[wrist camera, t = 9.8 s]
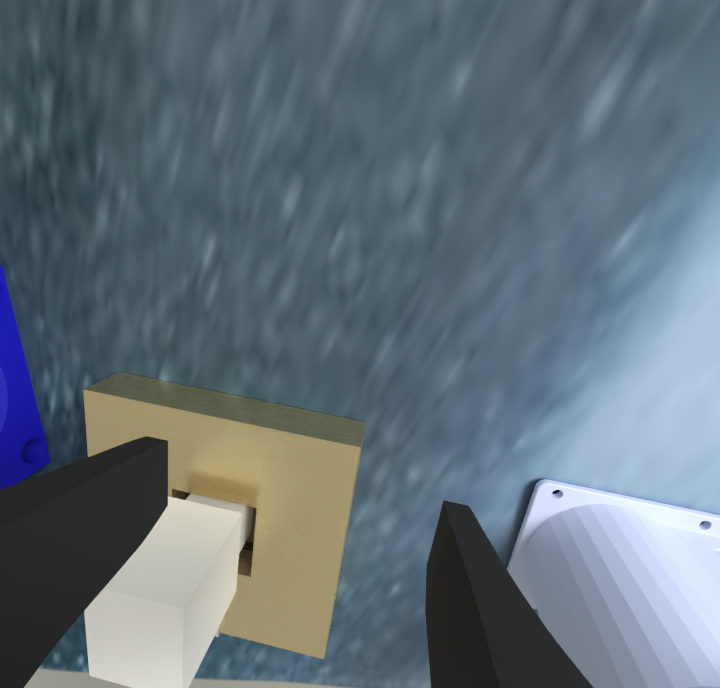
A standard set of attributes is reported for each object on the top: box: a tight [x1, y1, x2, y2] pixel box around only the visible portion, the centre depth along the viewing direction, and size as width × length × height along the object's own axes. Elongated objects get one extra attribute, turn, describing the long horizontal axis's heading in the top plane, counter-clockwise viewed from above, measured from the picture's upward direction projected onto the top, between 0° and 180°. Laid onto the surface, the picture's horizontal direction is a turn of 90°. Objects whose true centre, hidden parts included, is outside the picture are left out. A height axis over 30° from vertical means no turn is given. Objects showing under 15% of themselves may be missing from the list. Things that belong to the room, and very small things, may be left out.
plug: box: [84, 493, 253, 688], centre depth 19 cm, size 4×5×8 cm
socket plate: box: [83, 372, 367, 659], centre depth 22 cm, size 14×14×3 cm
